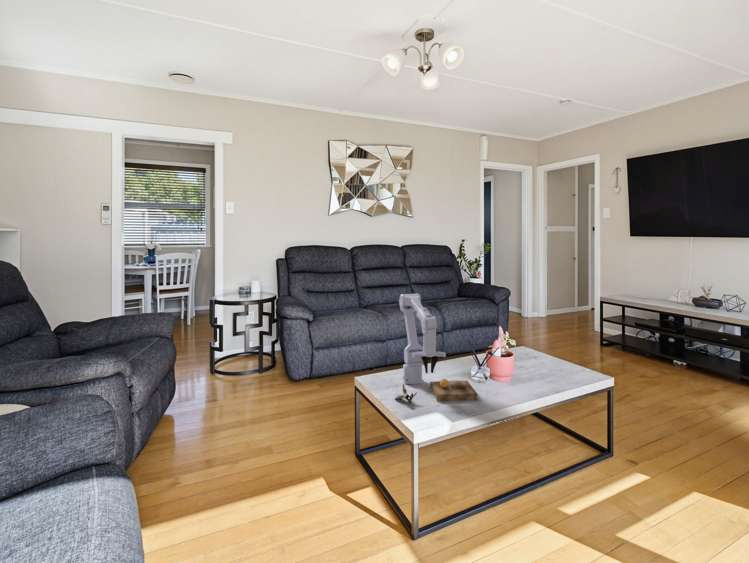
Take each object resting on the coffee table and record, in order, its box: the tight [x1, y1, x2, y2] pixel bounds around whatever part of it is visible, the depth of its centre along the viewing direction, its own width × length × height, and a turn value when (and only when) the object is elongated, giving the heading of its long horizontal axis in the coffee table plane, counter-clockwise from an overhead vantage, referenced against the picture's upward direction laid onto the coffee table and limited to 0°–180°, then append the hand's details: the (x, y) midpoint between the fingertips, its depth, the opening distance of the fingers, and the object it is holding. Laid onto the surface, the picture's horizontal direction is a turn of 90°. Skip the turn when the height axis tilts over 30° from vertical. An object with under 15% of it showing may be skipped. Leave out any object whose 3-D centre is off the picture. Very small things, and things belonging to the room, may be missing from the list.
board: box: [429, 380, 478, 402], centre depth 185 cm, size 18×16×3 cm
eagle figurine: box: [394, 383, 418, 404], centre depth 177 cm, size 8×7×9 cm
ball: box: [439, 378, 449, 388], centre depth 184 cm, size 4×4×4 cm
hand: (429, 372), depth 183 cm, fingers closed
